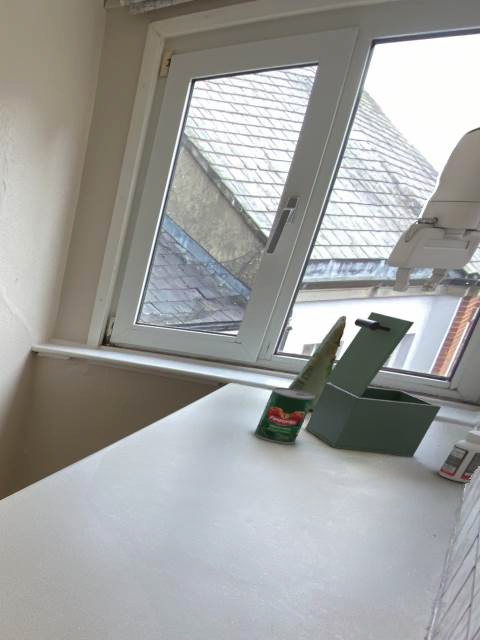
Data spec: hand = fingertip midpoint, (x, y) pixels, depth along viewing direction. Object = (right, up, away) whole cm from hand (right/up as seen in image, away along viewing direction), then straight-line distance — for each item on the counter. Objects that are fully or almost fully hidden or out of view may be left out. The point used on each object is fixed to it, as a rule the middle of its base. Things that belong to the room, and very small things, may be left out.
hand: (413, 291), depth 115 cm
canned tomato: (-18, -30, +14) cm, 38 cm away
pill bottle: (+6, -40, -3) cm, 40 cm away
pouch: (+8, -20, +37) cm, 43 cm away
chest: (+1, -31, +14) cm, 34 cm away
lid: (-4, -12, +6) cm, 14 cm away
